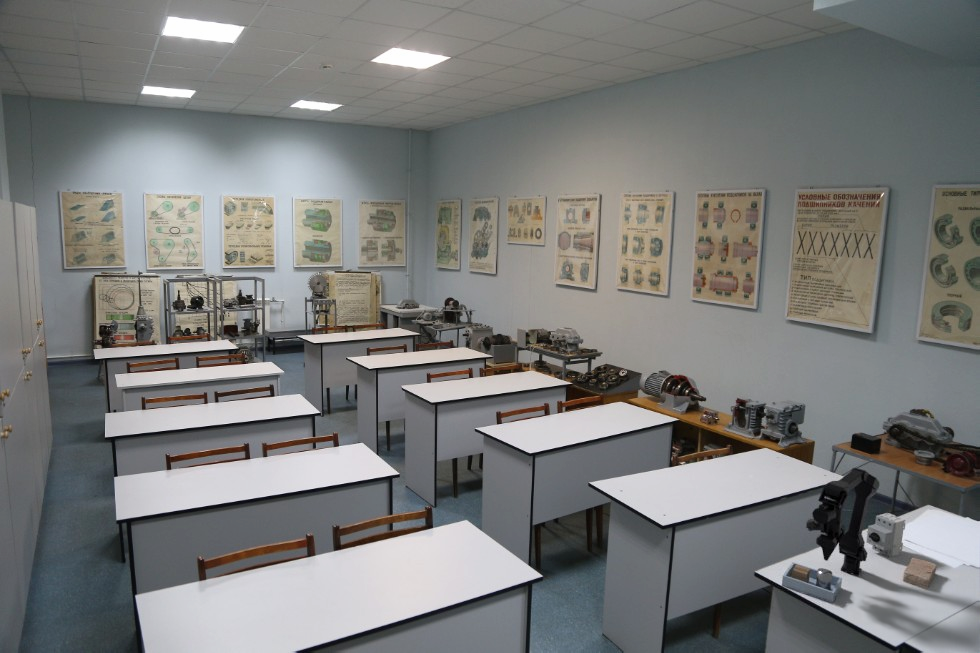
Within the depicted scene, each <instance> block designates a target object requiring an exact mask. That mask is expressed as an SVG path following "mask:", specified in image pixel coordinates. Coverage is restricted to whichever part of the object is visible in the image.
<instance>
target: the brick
mask: <svg viewBox="0 0 980 653" xmlns="http://www.w3.org/2000/svg"><path fill="white" fill-rule="evenodd" d="M937 566H938V565H937V564H935V563H933V562H931V561H927V560H924V559H919V558H915V557H912V558H911V560H910V562H909V564H908V565H907V566H906V567H905V569H904V570H903V576H902V578H903V579H902V582H904V583H906V584H908V585H912V586H915V587H917V588H920V589H923V590H927V589H928V588H929V585H930V584H931V582H932V580H933V578H934V576H935V575H936V571H937Z"/></svg>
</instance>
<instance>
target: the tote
mask: <svg viewBox="0 0 980 653" xmlns="http://www.w3.org/2000/svg"><path fill="white" fill-rule="evenodd" d="M796 565H799V566H802V567H805V568H808V569H810V576H809V582H808V583H806V582H803V581H800V580H797V579H794V578H792V572H793V569H794V567H795V566H796ZM817 570H818V569H815V568H812V567H808V566H806V565H803V564H800V563H797V562H791V564H790V565H789V566H788V568H787V569H786V571H784V573H783V574H782V577H781V578H782V580H781V586H782V587H785V588H788V589H790V590H794V591H797V592H799V593H802V594H806V595H808V596H811V597H814V598H817V599H820V600H822V599H823V600H822V601H825V602H828V603H830V604H831V603H832V604H834V602H835V600H836V598H837V596H838V595H839V593H840V590H841V589H842V582H843V578H842V577H840V576H837V575H833V574H832V583H831V591H829V590H827V589H824V588H821V587H818V586H816V580H817ZM837 594H838V595H837Z"/></svg>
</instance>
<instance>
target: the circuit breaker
mask: <svg viewBox="0 0 980 653" xmlns="http://www.w3.org/2000/svg"><path fill="white" fill-rule="evenodd" d="M905 522H906V519H904V518H902V517H900V516H896V515H895V514H891V513H889V512H885V513H883V514H881V513H880V514H878V515H876V516H875V523H874V524H870V525H868V526H867V532H866V533H867V536H866V543H867V544H869V545H871V546H872V547H871V549H873V550H874V551H876V552H878V553H881V554H882V555H885V556H886V557H890V558H891V557H893V556H898V555H900V554H902V553H903V552H902V550H903V548H904V547H903V546H904V543H903V536H904V530H906V523H905Z"/></svg>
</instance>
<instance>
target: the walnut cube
mask: <svg viewBox="0 0 980 653" xmlns="http://www.w3.org/2000/svg"><path fill="white" fill-rule="evenodd" d="M809 576H810V569H808V568H805V567H802V566H799V565H796V566H795V567H794V569H793V572H792V578H794V579H797V580H800V581H803V582H806V583H808V582H809Z"/></svg>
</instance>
